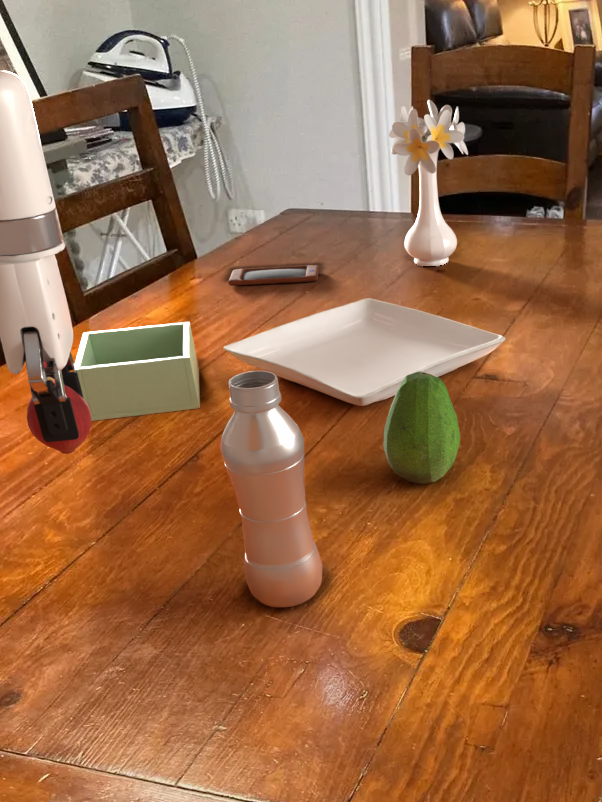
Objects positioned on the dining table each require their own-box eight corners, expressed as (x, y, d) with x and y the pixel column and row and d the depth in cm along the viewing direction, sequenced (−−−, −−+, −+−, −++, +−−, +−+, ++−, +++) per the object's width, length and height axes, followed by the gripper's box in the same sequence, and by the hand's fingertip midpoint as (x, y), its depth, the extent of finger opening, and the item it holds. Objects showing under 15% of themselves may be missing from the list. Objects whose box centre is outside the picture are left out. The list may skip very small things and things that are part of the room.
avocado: (454, 499, 95) (450, 388, 89) (379, 494, 97) (370, 385, 90) (466, 463, 102) (464, 357, 95) (396, 460, 103) (389, 354, 96)
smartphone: (316, 276, 158) (227, 280, 157) (317, 281, 158) (228, 286, 158) (318, 264, 163) (232, 268, 163) (319, 269, 164) (233, 274, 163)
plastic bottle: (339, 599, 82) (312, 381, 70) (268, 626, 79) (228, 404, 67) (305, 566, 86) (275, 357, 74) (237, 591, 83) (194, 377, 71)
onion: (50, 440, 96) (30, 364, 91) (106, 440, 96) (88, 364, 91) (28, 465, 91) (6, 387, 86) (87, 466, 91) (68, 388, 86)
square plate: (362, 426, 111) (359, 395, 108) (223, 372, 126) (218, 344, 124) (508, 359, 127) (508, 331, 124) (369, 319, 142) (367, 293, 140)
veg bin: (86, 421, 114) (72, 370, 110) (95, 380, 125) (82, 332, 121) (199, 408, 116) (189, 357, 113) (199, 369, 127) (189, 321, 123)
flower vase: (395, 280, 158) (385, 115, 143) (398, 250, 173) (388, 98, 158) (472, 277, 158) (469, 112, 143) (468, 247, 173) (465, 95, 158)
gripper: (-13, 213, 87) (37, 394, 98) (-51, 263, 74) (12, 468, 84) (70, 208, 89) (111, 388, 99) (49, 257, 75) (99, 459, 85)
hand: (65, 423), depth 92 cm, fingers closed on onion, 5 cm apart
